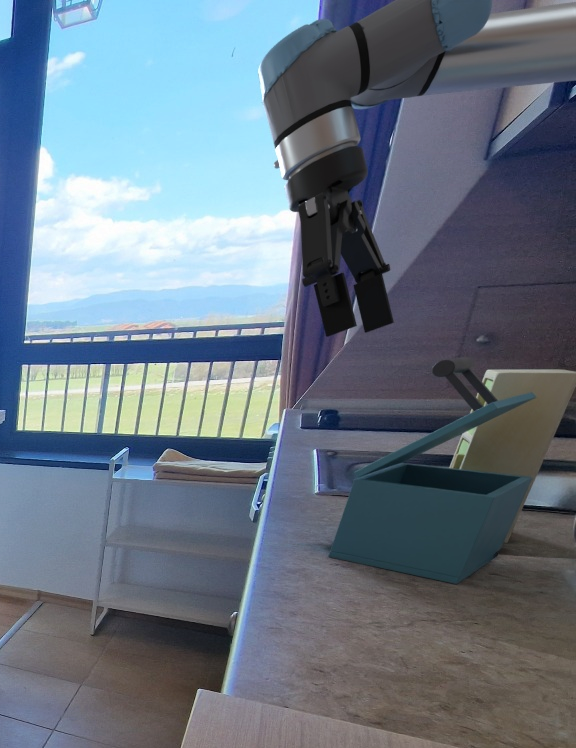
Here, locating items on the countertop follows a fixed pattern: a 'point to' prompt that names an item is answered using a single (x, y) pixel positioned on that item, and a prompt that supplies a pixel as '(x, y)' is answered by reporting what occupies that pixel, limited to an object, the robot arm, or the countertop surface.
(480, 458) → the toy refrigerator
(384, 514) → the teal storage box
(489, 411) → the lid
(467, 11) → the robot arm
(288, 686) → the countertop surface
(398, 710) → the countertop surface
